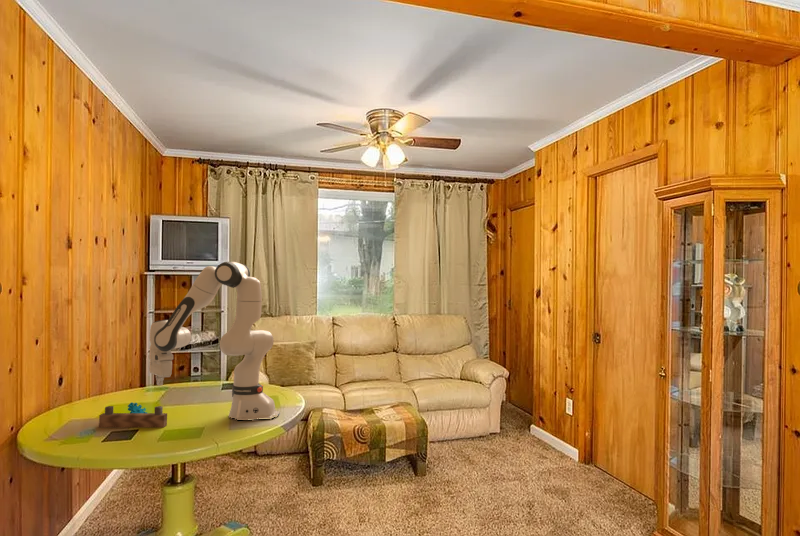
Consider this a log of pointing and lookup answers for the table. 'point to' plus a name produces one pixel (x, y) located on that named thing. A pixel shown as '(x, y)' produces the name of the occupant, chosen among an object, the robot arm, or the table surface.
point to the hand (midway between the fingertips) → (159, 384)
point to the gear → (136, 408)
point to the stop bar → (133, 418)
